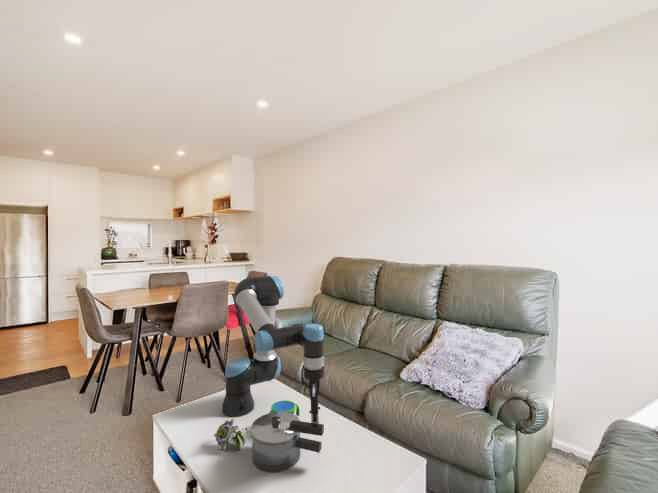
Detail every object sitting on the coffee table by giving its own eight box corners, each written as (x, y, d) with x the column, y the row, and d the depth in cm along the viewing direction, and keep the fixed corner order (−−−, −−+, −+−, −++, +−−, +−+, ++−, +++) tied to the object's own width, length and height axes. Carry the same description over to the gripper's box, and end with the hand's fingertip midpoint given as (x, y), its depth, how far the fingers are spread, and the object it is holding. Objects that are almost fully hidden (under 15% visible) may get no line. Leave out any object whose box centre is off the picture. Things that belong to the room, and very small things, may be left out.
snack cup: (294, 417, 154) (293, 396, 154) (305, 428, 145) (305, 405, 145) (262, 428, 145) (261, 405, 145) (271, 441, 137) (271, 416, 136)
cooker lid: (241, 440, 120) (241, 429, 120) (264, 413, 138) (264, 403, 138) (315, 452, 113) (315, 440, 113) (329, 422, 131) (329, 412, 131)
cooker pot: (268, 437, 139) (267, 414, 139) (328, 451, 130) (328, 426, 129) (242, 465, 122) (242, 438, 122) (310, 484, 113) (310, 455, 112)
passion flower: (221, 462, 132) (205, 435, 134) (241, 442, 141) (226, 418, 143) (236, 456, 126) (219, 428, 128) (255, 436, 135) (239, 410, 137)
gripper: (323, 373, 118) (324, 438, 119) (324, 359, 131) (325, 418, 132) (302, 373, 118) (303, 439, 119) (305, 360, 131) (306, 419, 132)
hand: (315, 428), depth 125 cm, fingers closed
